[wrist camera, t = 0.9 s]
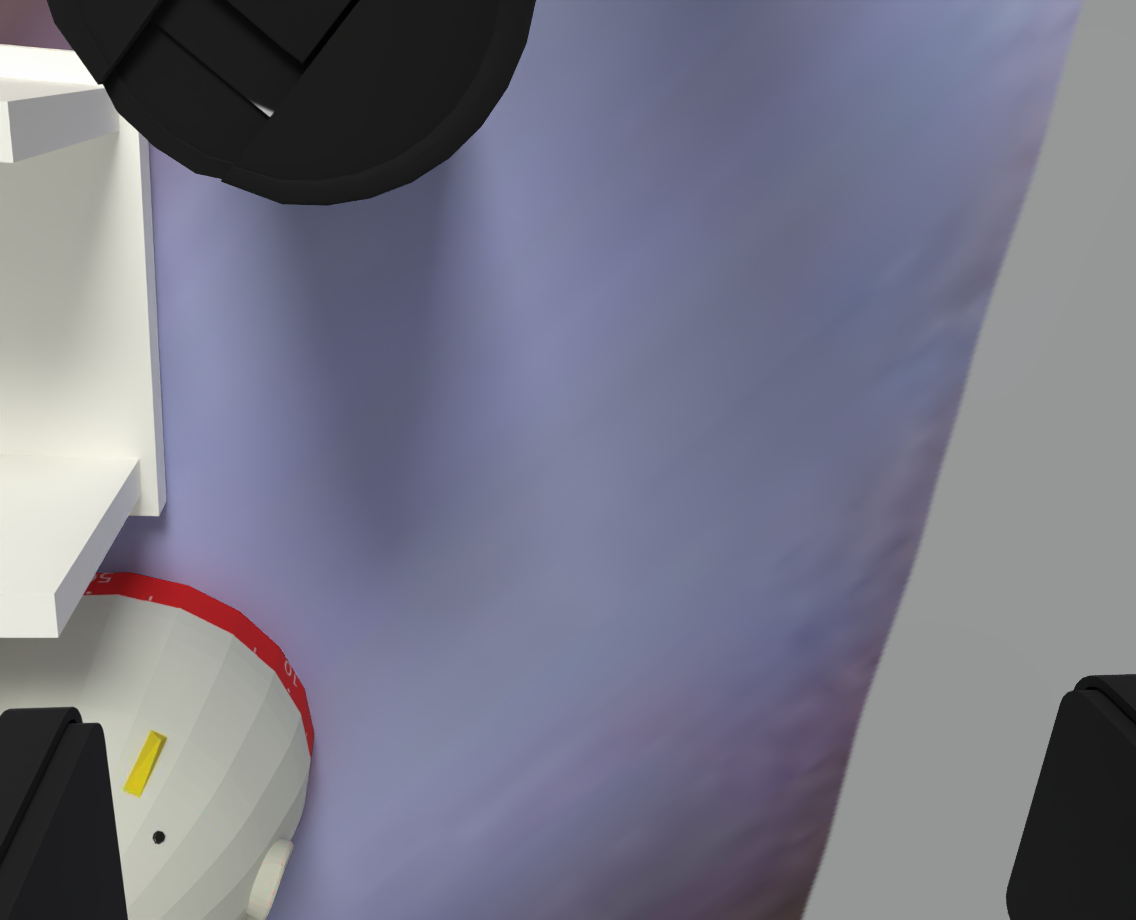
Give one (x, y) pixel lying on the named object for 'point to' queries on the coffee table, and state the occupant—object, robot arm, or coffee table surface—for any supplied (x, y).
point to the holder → (71, 336)
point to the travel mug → (302, 84)
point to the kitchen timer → (180, 740)
